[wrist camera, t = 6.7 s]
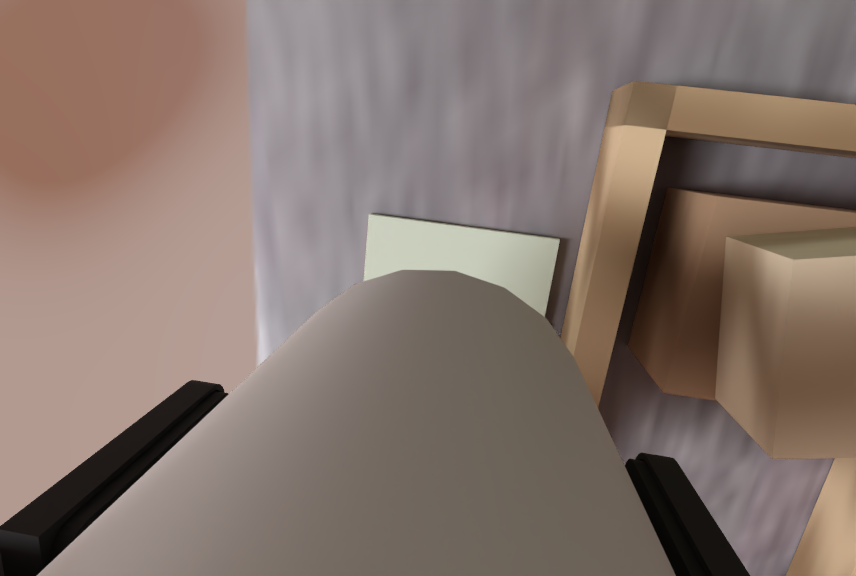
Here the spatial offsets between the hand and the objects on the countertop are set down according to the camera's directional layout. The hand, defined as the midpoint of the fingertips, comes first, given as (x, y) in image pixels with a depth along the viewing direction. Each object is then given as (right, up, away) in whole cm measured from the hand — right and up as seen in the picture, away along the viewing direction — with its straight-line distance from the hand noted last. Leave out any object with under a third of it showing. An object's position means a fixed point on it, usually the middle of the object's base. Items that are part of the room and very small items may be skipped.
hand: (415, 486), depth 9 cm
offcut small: (+12, +3, +4) cm, 13 cm away
